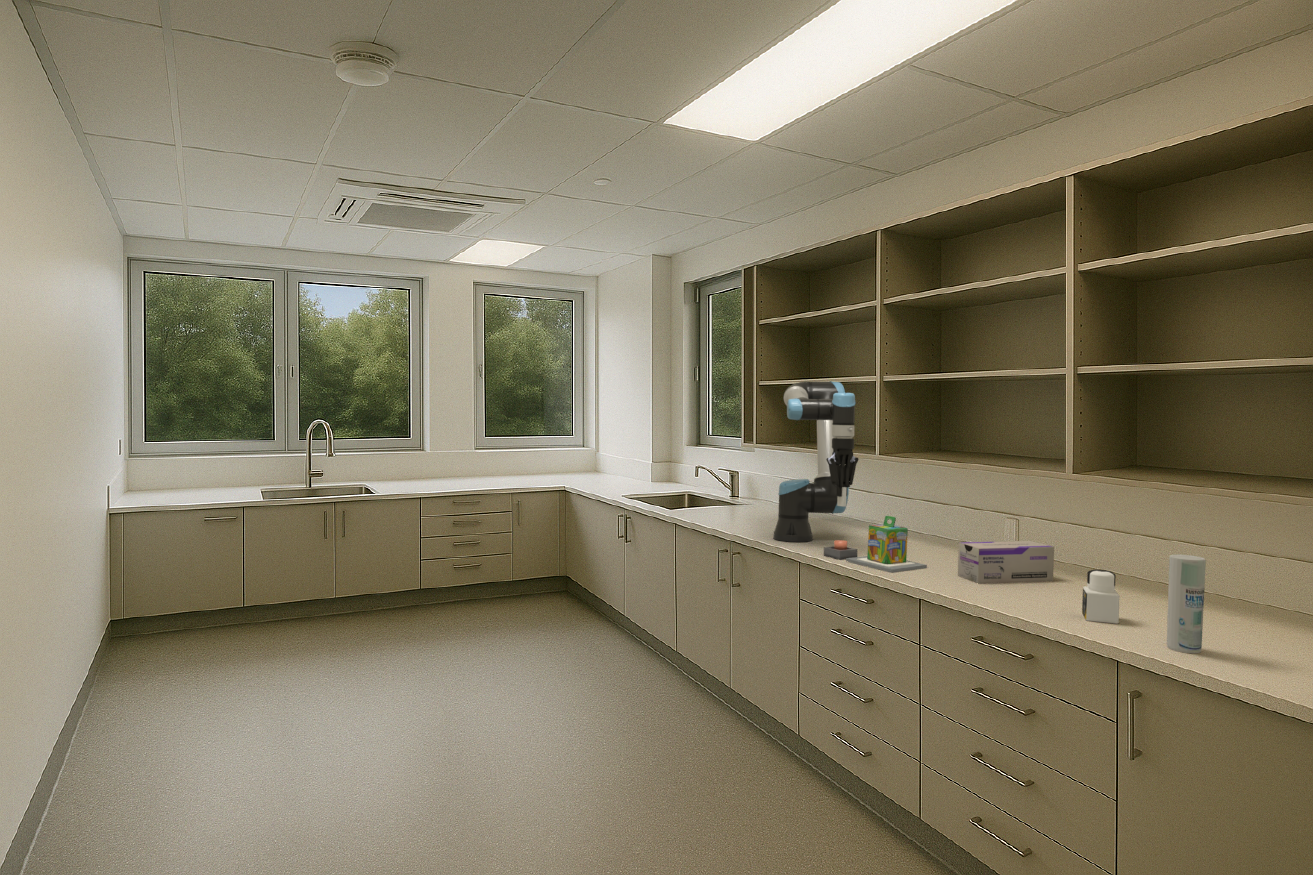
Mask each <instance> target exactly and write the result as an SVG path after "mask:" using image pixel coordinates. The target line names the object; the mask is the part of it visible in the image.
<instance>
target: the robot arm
mask: <svg viewBox="0 0 1313 875" xmlns="http://www.w3.org/2000/svg"><path fill="white" fill-rule="evenodd" d="M783 402H784V404H785V406H786V415H787V418H788V419H789V420H794V421H803V420H804V421H816V449H817V450H816V451H817V453H816V454H817V475H816V476H815V477H814V478H813V482H810V480H809V479H808V478H799V479H789V480H785V481H781V483H779V486H778V493H777V494H778V516H777V517H778V518H777V522H776V525H775V528H774V531H773V539H774V540H776V541H780V542H781V541H782V542H788V543H789V542H790V543H805V542H812V541H813V540H814V539H813V532H812V527H811V524H810V521H809V515H810V514H809V513H811V514H832V515H834V514H842V513H844V512H845V510H846V509H847V505H848V501H849V492H850V489H849V488H850V487H851V486H852V485H853V482H854V478H855V472H856V468H857V464H858V462H859V457H855V455H854V452H853V450H854V449H855V438H854V437H855V421H856V420H855V417H856V413H855V412H856V396H855V394H854V393H853V392H846V389H845V388H844V385H843V383H842V382H839V381H832V380H831V381H806V380H805V381H800V382H799V381H798V382H796V383H793V384H791V385H790V386H788V387H787V388H786V389H785V391H784V393H783Z"/></svg>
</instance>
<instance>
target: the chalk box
mask: <svg viewBox="0 0 1313 875" xmlns="http://www.w3.org/2000/svg"><path fill="white" fill-rule="evenodd" d="M896 518H897V517H896V516H891V515H885V516H884V521H883V523H882V524H869V525H868V541H867V555H866V556H867V559H869V560H873V561H876V562H880V563H883V564H892V563H904V562H906V560H907V557H908V555H907V554H908V534H909V533H908V531H909V529H908V527H905V526H900V525H895V524H896V522H897V519H896ZM889 520H890V521H891V523H889V522H888V521H889Z"/></svg>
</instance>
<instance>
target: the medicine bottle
mask: <svg viewBox="0 0 1313 875" xmlns="http://www.w3.org/2000/svg"><path fill="white" fill-rule="evenodd" d="M1086 575H1087V576H1086V577H1087V581H1086V585H1085V586H1082V602H1081V604H1082V605H1081V606H1082V607H1081V614H1082V616H1083V618H1084V620H1085V621H1087V622H1095V623H1107V624H1115V625H1117V624H1119V620H1120V600H1121V599H1120V598H1121V597H1120V594H1119V593H1118V592H1117V590H1116V579H1117V576H1116V574H1115V573H1114V572H1113V571H1111V570H1106V569H1097V568H1095V569H1091V570H1089V571H1087V574H1086Z"/></svg>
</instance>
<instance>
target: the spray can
mask: <svg viewBox="0 0 1313 875" xmlns="http://www.w3.org/2000/svg"><path fill="white" fill-rule="evenodd" d="M1168 558H1169V559H1168V593H1167V594H1168V595H1167V597H1168V598H1167V626H1166V647H1167V648H1168V649H1169V650H1172V651H1175V652H1180V653H1185V654H1199V653H1201V652H1202V648H1203V647H1202V646H1203V627H1204V606H1205V605H1204V604H1205V585H1206V584H1205V583H1206V580H1205V579H1206V565H1207V562H1206V561H1207V560H1206V558H1204V557H1202V556H1196V555H1190V554H1189V555H1188V554H1171V555H1169V557H1168Z"/></svg>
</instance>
